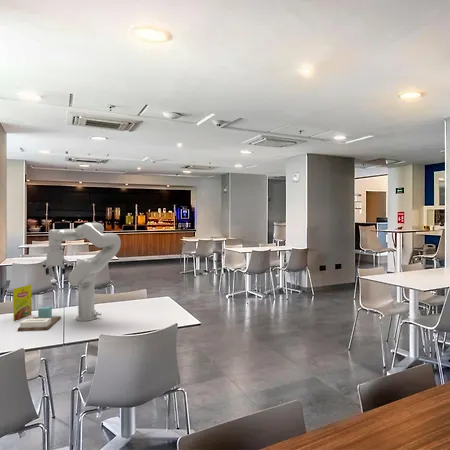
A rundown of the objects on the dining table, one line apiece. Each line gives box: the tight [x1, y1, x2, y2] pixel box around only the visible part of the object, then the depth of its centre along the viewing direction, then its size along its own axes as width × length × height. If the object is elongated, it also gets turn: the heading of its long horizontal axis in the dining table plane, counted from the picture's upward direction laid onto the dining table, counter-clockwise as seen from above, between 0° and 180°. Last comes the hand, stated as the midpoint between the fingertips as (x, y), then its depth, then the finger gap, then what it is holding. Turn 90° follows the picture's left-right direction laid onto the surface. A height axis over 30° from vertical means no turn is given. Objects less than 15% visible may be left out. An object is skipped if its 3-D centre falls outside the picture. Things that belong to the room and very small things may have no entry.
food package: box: [12, 284, 32, 322], centre depth 235 cm, size 15×1×20 cm, turn 168°
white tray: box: [19, 317, 51, 328], centre depth 215 cm, size 14×8×3 cm, turn 98°
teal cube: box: [37, 305, 53, 318], centre depth 229 cm, size 6×6×6 cm
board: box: [17, 315, 62, 332], centre depth 222 cm, size 16×24×2 cm, turn 8°
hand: (55, 274), depth 243 cm, fingers open, 9 cm apart
